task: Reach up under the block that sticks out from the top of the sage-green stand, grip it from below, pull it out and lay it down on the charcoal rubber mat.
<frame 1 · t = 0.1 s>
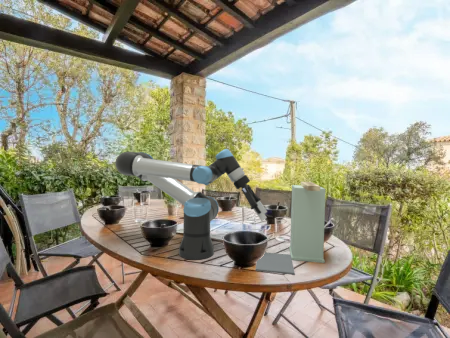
hand: (264, 216, 114), 15 cm above the table, tool tilted 35°, fingers open, 13 cm apart
stand: (305, 255, 107), on the table
mat: (274, 262, 98), on the table
block: (309, 188, 101), point 30 cm above the table, touching stand
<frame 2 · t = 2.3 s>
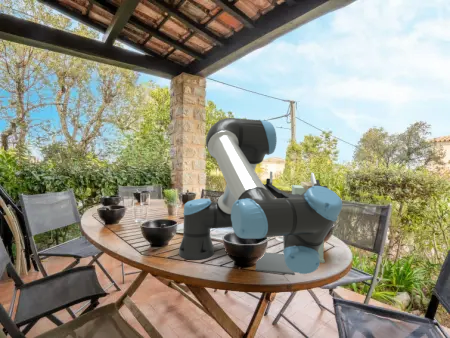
hand: (291, 175, 84), 36 cm above the table, tool pointing upward, fingers open, 13 cm apart
nothing on the table moved.
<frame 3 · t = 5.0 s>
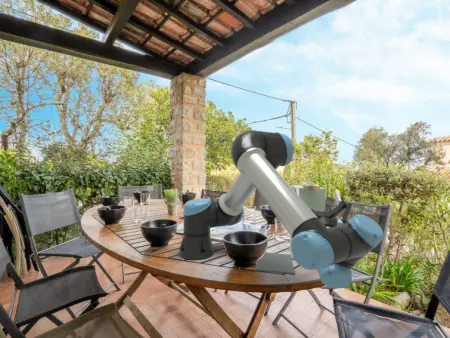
hand: (316, 191, 90), 30 cm above the table, tool pointing upward, fingers open, 13 cm apart
nothing on the table moved.
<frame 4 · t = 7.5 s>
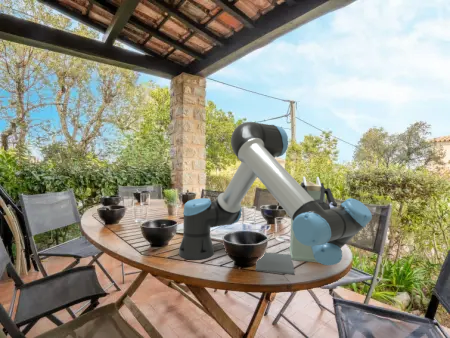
hand: (310, 179, 99), 34 cm above the table, tool pointing upward, fingers closed on block, 4 cm apart
block: (309, 188, 101), point 30 cm above the table, touching gripper, stand
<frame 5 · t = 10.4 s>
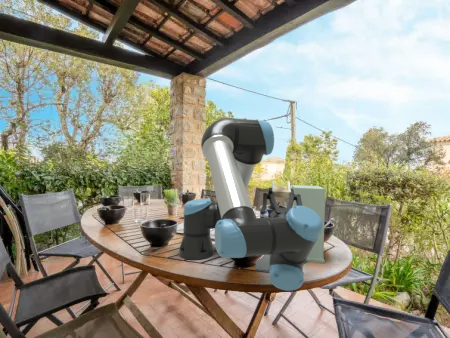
hand: (280, 184, 87), 33 cm above the table, tool pointing upward, fingers closed on block, 4 cm apart
block: (280, 193, 89), point 29 cm above the table, touching gripper
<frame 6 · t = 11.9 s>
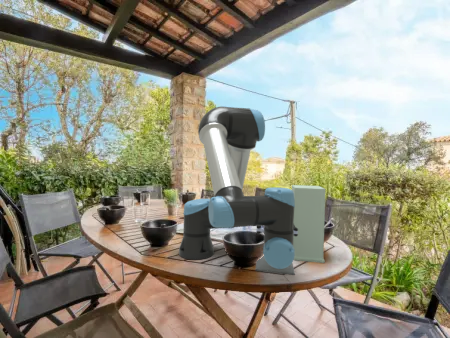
hand: (275, 219, 96), 18 cm above the table, tool horizontal, fingers closed on block, 4 cm apart
block: (275, 230, 97), point 13 cm above the table, tilted 30°, touching gripper
when the fingers open (11 cm above the table, at t = 13.7 s): block drops 6 cm, resting on mat.
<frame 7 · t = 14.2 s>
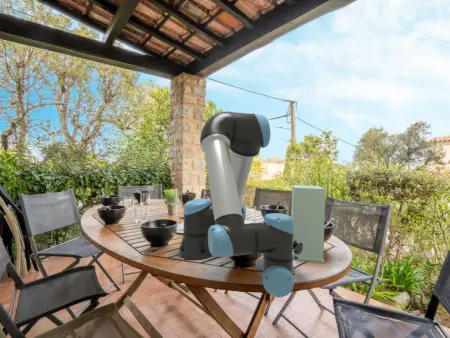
hand: (275, 238, 95), 11 cm above the table, tool horizontal, fingers open, 11 cm apart
block: (274, 263, 95), point 1 cm above the table, touching mat
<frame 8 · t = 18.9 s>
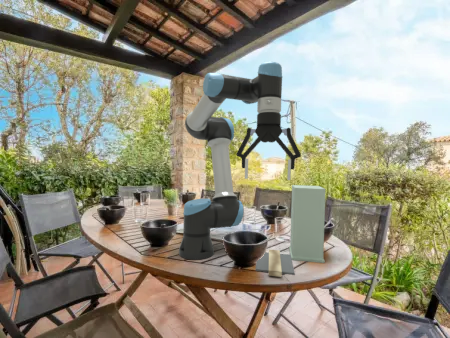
hand: (267, 179, 79), 35 cm above the table, tool pointing down, fingers open, 13 cm apart
nothing on the table moved.
at the end: block inside the target area (1.7 cm from its centre), point 0.6 cm above the table; the gripper is holding nothing; block moved 33.7 cm from its start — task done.
